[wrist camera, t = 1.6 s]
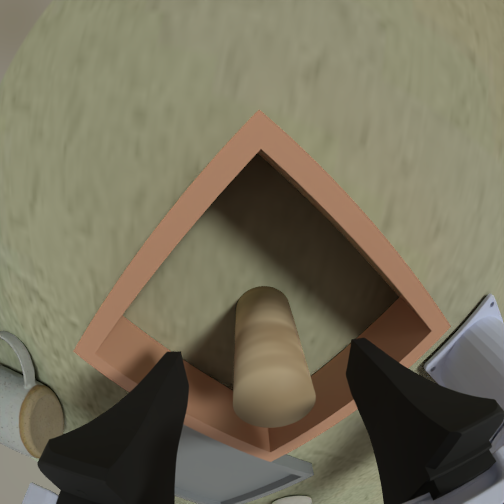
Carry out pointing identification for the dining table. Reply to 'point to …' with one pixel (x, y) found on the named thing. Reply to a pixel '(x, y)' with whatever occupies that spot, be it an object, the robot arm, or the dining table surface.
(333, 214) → the terracotta planter box
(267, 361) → the maple pin
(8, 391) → the ceramic mug
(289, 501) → the white jar
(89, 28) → the dining table surface
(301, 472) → the slate tray
